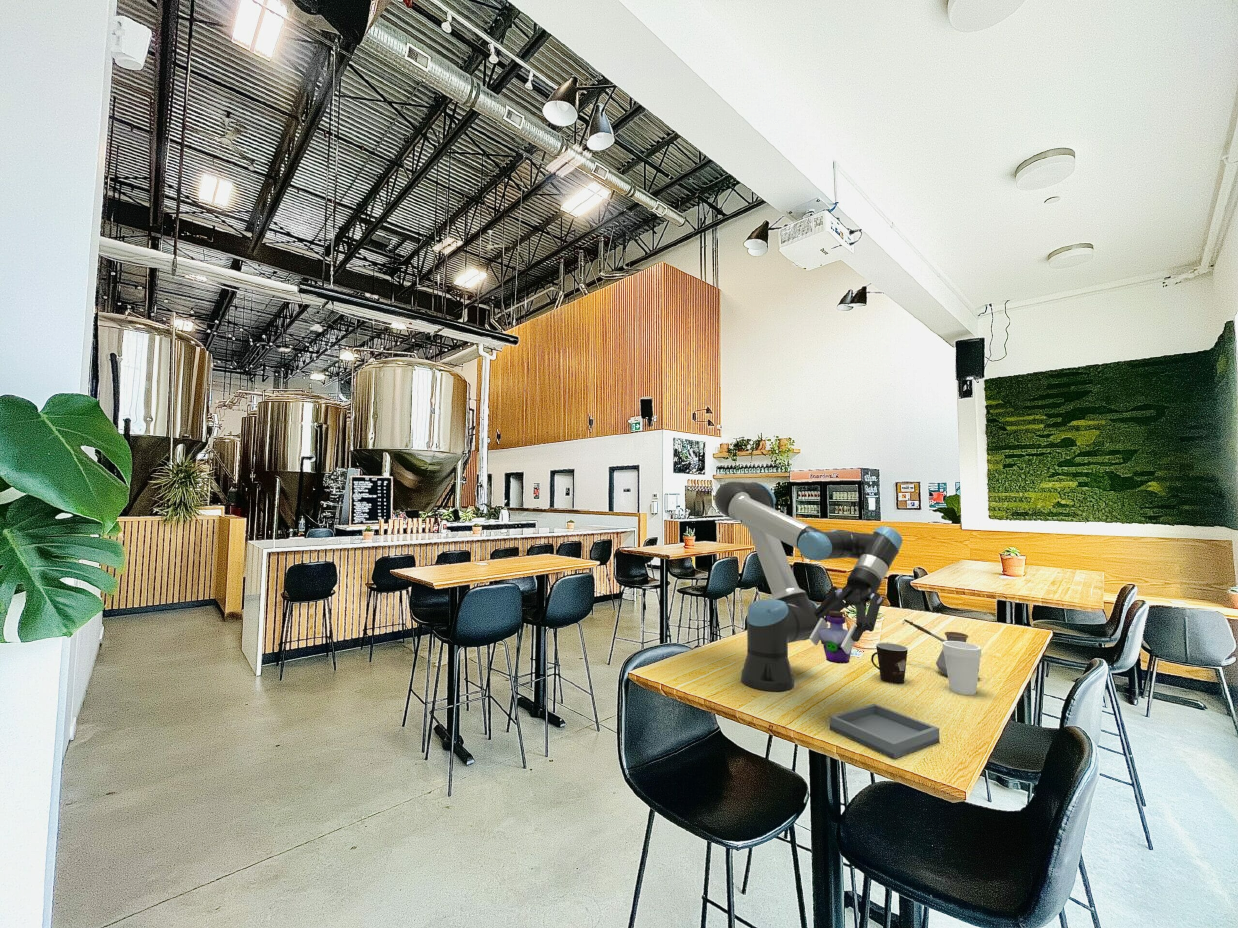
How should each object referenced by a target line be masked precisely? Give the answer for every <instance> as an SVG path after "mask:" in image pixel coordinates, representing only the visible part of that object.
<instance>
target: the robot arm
mask: <svg viewBox="0 0 1238 928" xmlns="http://www.w3.org/2000/svg"><path fill="white" fill-rule="evenodd" d="M775 496H776V495H775V494H774V492H773V490H772V489H771V488H770V487H769V486H768V485H767V484H764V483H759V482H756V481H755V482H754V481H752V482H746V481H745V482H744V481H728V482H725V483H723V484H722V485H720V486H719V487H718V488H717V490H716V491H715V494H714V505H715V507H716V509H717V510H718V512H719V513H720V514H722V515H724V516H725V517H728V518H730V519H731V520H734V521H740V523H741V526H743V527H745V528H747V530H748V532H749V535H750V537H751V540H752V543H753V546H754V548H755V551H756V554H757V556H758V557H757V558H758V560H759V562H760V566H761V567H762V570H763V571H762V572H763V573H764V576H765V579H766V582H767V585H768V587H769V588H770V589H769V590H770V592H771V595H772V596H771V598H769V599H759V600H758V599H757V600H756V601H753V602H751V603H750V604H749V605H748V608H747V615H746V627H747V628H746V630H747V631H746V633H747V634H746V636H747V639H746V643H747V648H746V649H747V650H746V651H747V653H746V656H745V657H746V658H745V660H744V663H743V668H742V670H741V672H740V674H741V675H740V676H741V677H740V680H741V682H742V683H743V684H744V685H746V686H748V687H750V688H753V689H758V690H761V691H769V692H784V691H789V690H791V689H793V688H794V687H795V677H794V674H793V673H792V668H791V664H790V661H789V656H788V655H789V651H788V650H789V647H788V646H789V644H790V643H791V644H792V643H795V642H801V641H807V640H810V641H811V642H812V643H813V645H814V646H818V645H819V642H821V640H820V636H819V632H818V631H819V630H821V629H824V628H829V623H828V622H827V616H829V611H840V612H842V611H843V610H844V609H847V608H849V607H850V606H854V607H856V609H855V610H856V612H855V613H856V614H855V616H856V618H855V622H854V624H851V626H850V629H849V632H848V634H847V636H846V637H845V639H844V641H843V643H842V645H841V647H842V649H843V650H844V651H845V653H846V654H849V653H850V651H851V652H852V650H851V649H853V648H854V645H855V643H858V642H859V641H860V639H861V638H862V635H863V633H865V632H866V631H869V632H871V633H872V632H873V631H874V629H875V627H876V622H877V618H878V616H879V612H880V608H881V606H882V605H883V603H884V602H885V600H884V598H883V597H882V595H881V593H879V592H878V591H879V589H880V587H881V585H882V583H883V581H884V580H885V577H886V575H887V573H888V572H889V570H890V568H891V566H892V565H893V562H894V560H895V559H896V557H897V555H899V554H900V549H901V547H902V545H903V543H904V542H903V537H902V534H901V533H900V532H898V531H897V530H896V529H894V528H892V527H889V526H885V525H881V526H879V527H876V528H875V529H874V530H873V532H872V533H867V532H866V533H865V532H857V531H849V530H845V529H830V530H829V531H823V530H820V529H819V528H816V527H814V526H812V525H810V524H808V523H805V522H803V521H801V520H798V519H797V518H794V517H792V516H790V515H788V514H785V513H783V512H781V511H779V510H777V509H775V507H776V505H775V504H776V497H775ZM782 542H783V543H785V544H787V545H789V546H792V547H793V548H796V549H797V550H798V551H799V553H800V554H801V556H802V557H803V558H804V559H807V560H810V561H817V562H818V561H823V560H835V559H836V560H837V559H847V558H848V559H855V560H857V561H856V563H855V564H854V566H853V569H852V570H851V571H850V573H849V574H848V577H847V579H846V585H845V586H843V587H842V588H837V586H835V585H833V586H832V588H831V590H830V592H829V593H828V595H827V596H826V597H825V599H824V600H823V601H822V602H821V603H820V605H818V604H817V603H815V601H812V600H810V599H809V597H808V595H807V592H806V590H804V589H801V587H799V585H798V583H797V582H798V581H797V580H796V577H795V575H794V572H793V570H792V567H791V565H790V562H789V560H788V557H787V554H786V552H785V549H784V547H783V544H782ZM868 603H869V605H867V604H868ZM867 607H868V608H867Z"/></svg>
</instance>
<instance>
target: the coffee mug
mask: <svg viewBox="0 0 1238 928" xmlns="http://www.w3.org/2000/svg"><path fill="white" fill-rule="evenodd" d="M875 647H876V652H874V653H872V655H871V658H870V661H871V663H872V665H873V666H874V667H875V668H876V669H877V670H879V678H880V680H881V681H883V682H886V683H889V684H894V685H895V684H896V685H901V684H904V683H905V677H906V669H907V668H906V667H907V660H908V651H909V648H908V647H907V646H905V645H902V644H897V643H892V642H878V643H876V644H875ZM876 655H877V661H878V662H877V663H878V666H877V665H876V663H875V661H874V658H875V656H876Z"/></svg>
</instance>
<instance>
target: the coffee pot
mask: <svg viewBox="0 0 1238 928" xmlns="http://www.w3.org/2000/svg"><path fill="white" fill-rule="evenodd" d="M905 622H906V623H907V624H909V625H910V626H913V628H915V629H917V630H919V631H920V632H923V633H925V634H927V635H929V636H931V637H933V638H935V639H936V640H938V641H940V642H942V643H943V642H944V641H959V642H966V643H967V639H968V638H969V637H970V636H969V634H966V633H962V632H959V631H958V632H957V631H945V632H944V636H945V638H946V639H944V638H942V637H940V636H938V635H936V634H934V633H932V632H931V631H929V630H927V629H925V628H924V627H923V626H921V625H919V624H916V623H914V622H913V621H909V620H908V619H905V618H904V619H903V621H902V623H901V625H904V624H905ZM935 665H936V667H937V669H938V670H939V671H940V672H941V673H942V674H943V675H944V676H946V677H948V674H947V668H946V662H945V656H944V652H943V648H942V650H941V652H940V653H939V655H938V658H937V660H936V662H935Z"/></svg>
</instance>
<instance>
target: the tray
mask: <svg viewBox="0 0 1238 928" xmlns="http://www.w3.org/2000/svg"><path fill="white" fill-rule="evenodd" d="M830 729H831V730H830ZM829 730H830V731H832V730H833V732H835V733H836V734H839V735H841V736H844V737H845V736H846V737H845V738H847V737H849V738H848V739H850V738H851V739H850V740H852V739H853V740H852V741H854V740H855V741H854V742H856V741H857V743H858V742H859V743H858V744H860V743H861V745H863V746H865V747H868V748H869V749H871V750H874V751H876V752H878V753H880V752H881V753H880V754H882V753H883V754H882V755H884V754H885V756H886V755H887V757H889V758H891V759H892V760H895V759H897V758H900V757H903V755H904V756H905V755H906V756H907V755H909V754H911V753H915V752H916V751H919V750H922V749H925V748H927V747H929V746H932V745H935V744H937V743H940V742H941V741H940V740H941V739H940V727H937V726H934V725H933V724H930V723H927V722H924V721H922V720H919V719H916V718H914V717H911V716H908V715H906V714H903V713H901V712H898V711H896V710H893V709H890V708H888V707H885V706H882V705H879V704H877V703H870V704H868V705H865V706H860V707H857V708H853V709H850V710H846V711H843V712H839V713H836V714H833V715H829Z"/></svg>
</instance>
